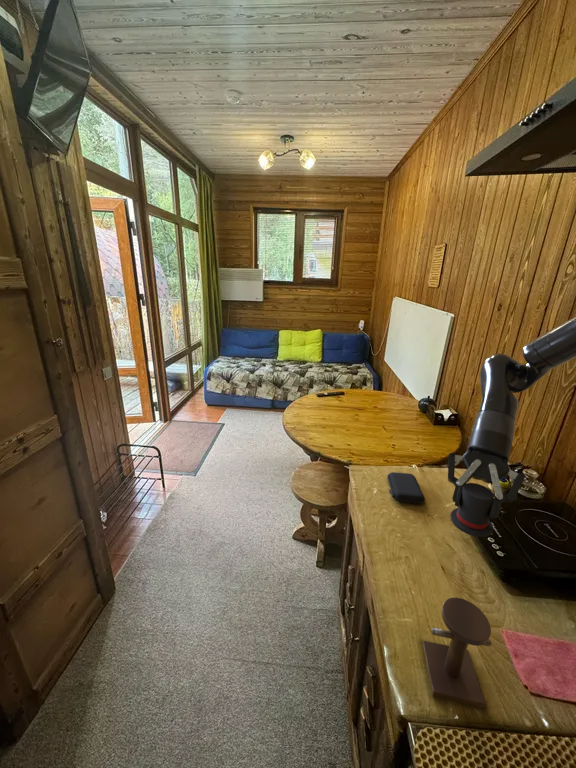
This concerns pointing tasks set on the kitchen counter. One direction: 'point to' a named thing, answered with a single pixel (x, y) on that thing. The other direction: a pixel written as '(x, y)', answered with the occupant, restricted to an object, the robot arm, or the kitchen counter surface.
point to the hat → (474, 510)
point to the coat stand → (457, 653)
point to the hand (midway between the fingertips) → (473, 511)
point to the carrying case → (405, 488)
